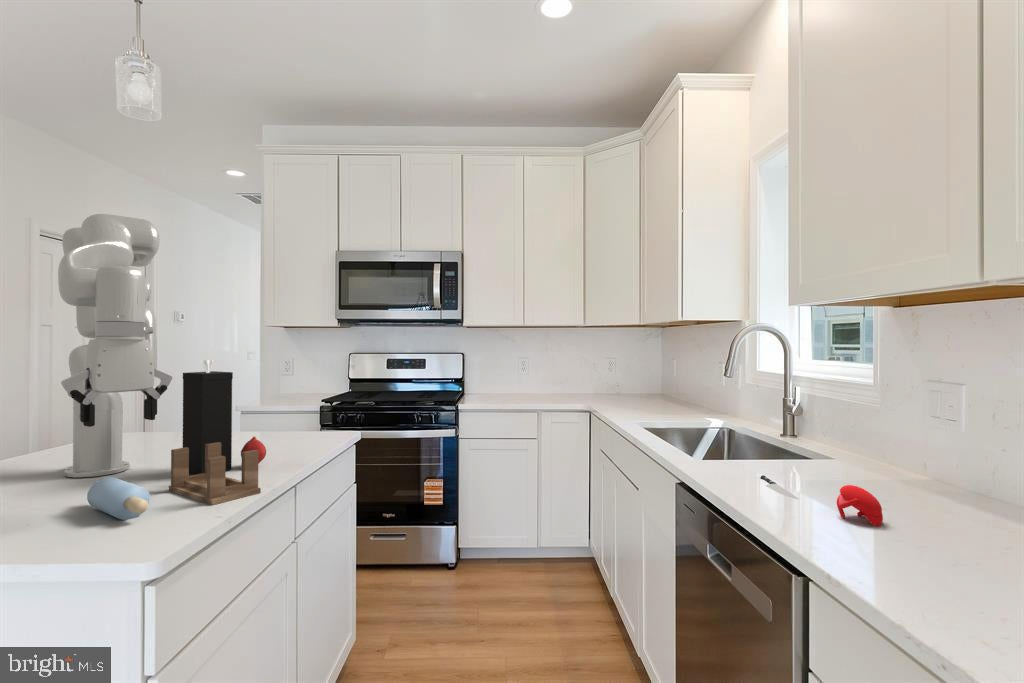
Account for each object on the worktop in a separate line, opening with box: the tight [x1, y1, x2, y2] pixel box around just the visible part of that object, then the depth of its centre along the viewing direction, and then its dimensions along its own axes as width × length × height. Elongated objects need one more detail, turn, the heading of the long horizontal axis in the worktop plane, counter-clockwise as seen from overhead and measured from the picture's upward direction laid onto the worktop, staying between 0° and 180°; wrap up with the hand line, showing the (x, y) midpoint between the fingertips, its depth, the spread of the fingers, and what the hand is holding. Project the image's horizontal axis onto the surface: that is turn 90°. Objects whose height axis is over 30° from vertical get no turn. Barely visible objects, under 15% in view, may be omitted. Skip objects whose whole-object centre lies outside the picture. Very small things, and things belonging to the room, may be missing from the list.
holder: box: [168, 442, 262, 506], centre depth 110 cm, size 18×10×9 cm, turn 57°
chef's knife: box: [759, 475, 800, 500], centre depth 115 cm, size 19×1×3 cm
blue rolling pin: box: [86, 476, 151, 521], centre depth 96 cm, size 19×6×6 cm, turn 57°
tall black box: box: [182, 358, 234, 476], centre depth 127 cm, size 8×8×28 cm
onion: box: [240, 435, 267, 465], centre depth 132 cm, size 6×6×8 cm
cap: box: [836, 484, 884, 527], centre depth 95 cm, size 8×6×6 cm
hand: (120, 422), depth 96 cm, fingers open, 9 cm apart
